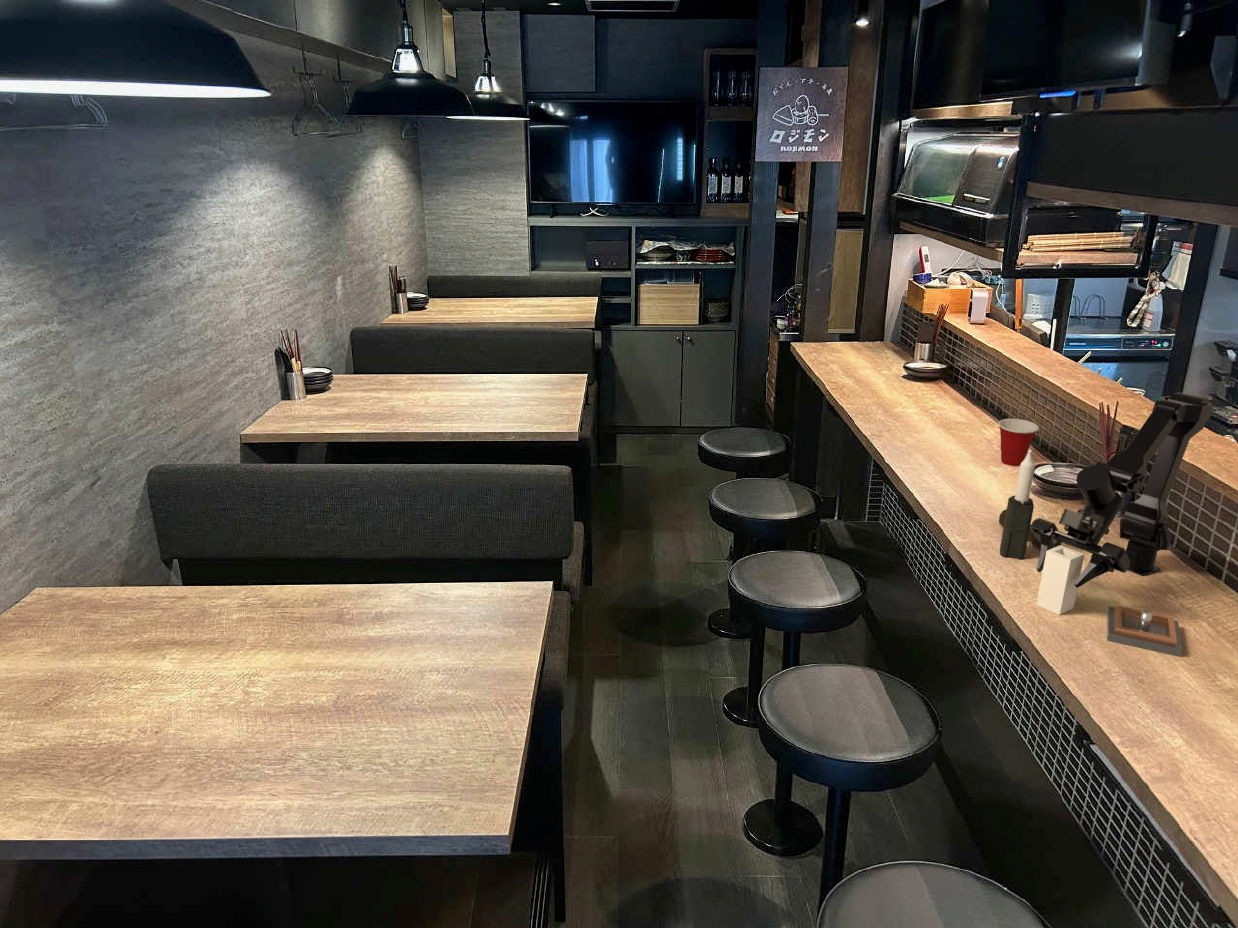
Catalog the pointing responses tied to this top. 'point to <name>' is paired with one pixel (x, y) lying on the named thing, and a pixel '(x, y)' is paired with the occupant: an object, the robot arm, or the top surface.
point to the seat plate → (1144, 630)
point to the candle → (1019, 513)
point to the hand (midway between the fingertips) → (1056, 578)
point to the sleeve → (1059, 579)
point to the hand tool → (1031, 536)
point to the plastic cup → (1015, 440)
